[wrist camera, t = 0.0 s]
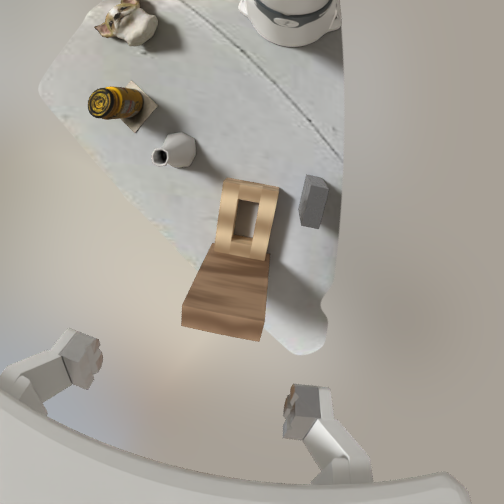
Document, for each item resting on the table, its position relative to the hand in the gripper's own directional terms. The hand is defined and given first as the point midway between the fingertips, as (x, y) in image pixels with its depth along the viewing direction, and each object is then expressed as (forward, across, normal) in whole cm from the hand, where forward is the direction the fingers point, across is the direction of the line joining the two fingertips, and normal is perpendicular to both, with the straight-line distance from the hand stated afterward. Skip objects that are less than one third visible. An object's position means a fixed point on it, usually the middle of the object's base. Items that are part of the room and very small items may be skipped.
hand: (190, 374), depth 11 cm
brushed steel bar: (+48, -10, +3) cm, 49 cm away
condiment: (+48, +27, -9) cm, 56 cm away
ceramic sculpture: (+48, +30, -27) cm, 63 cm away
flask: (+48, +16, -1) cm, 51 cm away
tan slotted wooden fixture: (+48, +1, +12) cm, 50 cm away
